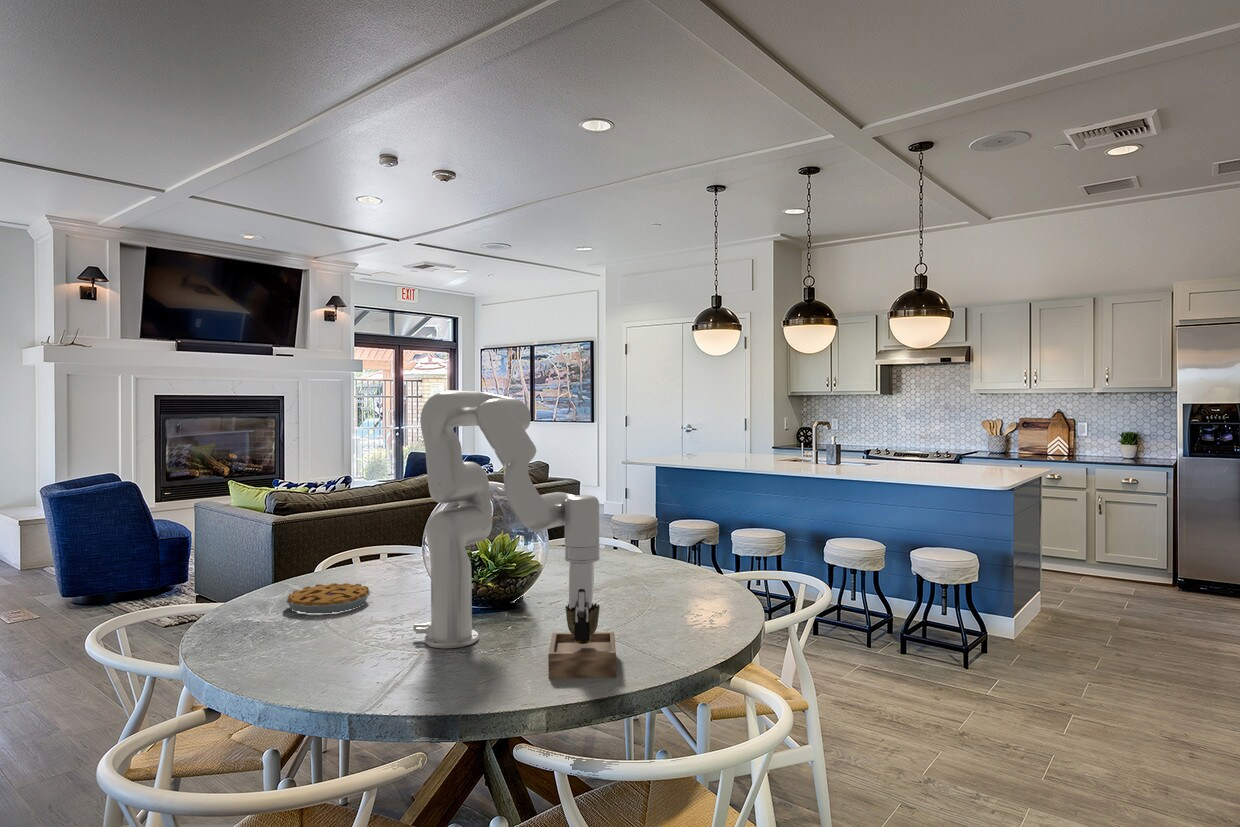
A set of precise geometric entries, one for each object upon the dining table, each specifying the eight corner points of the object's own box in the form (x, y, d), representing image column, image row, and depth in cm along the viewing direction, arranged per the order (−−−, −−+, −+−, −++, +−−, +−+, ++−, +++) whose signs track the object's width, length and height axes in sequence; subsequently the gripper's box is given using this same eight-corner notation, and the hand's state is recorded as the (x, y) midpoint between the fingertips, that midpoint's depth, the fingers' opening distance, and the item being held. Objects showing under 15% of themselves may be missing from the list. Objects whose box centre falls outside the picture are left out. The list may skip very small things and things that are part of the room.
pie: (268, 615, 200) (268, 596, 199) (319, 594, 221) (319, 578, 221) (339, 620, 194) (339, 601, 194) (385, 599, 216) (384, 582, 216)
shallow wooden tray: (548, 680, 152) (548, 653, 152) (552, 657, 166) (552, 632, 166) (616, 679, 153) (615, 652, 152) (614, 656, 167) (614, 631, 166)
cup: (569, 649, 155) (569, 611, 155) (562, 638, 162) (562, 602, 162) (603, 645, 157) (603, 608, 157) (595, 635, 164) (595, 600, 164)
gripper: (566, 545, 168) (567, 623, 168) (562, 561, 150) (563, 648, 150) (599, 545, 168) (600, 623, 168) (599, 561, 150) (599, 648, 151)
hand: (582, 634), depth 159 cm, fingers closed on cup, 6 cm apart
